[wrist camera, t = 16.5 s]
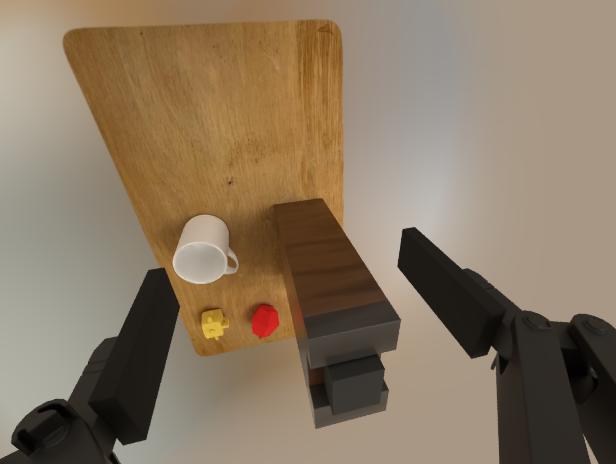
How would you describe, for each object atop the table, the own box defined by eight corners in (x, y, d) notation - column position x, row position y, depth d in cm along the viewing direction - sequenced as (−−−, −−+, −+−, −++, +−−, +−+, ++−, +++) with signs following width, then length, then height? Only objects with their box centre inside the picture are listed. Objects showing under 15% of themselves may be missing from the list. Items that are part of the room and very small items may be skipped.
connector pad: (321, 346, 33) (332, 381, 29) (369, 335, 34) (385, 369, 30) (323, 380, 37) (332, 416, 33) (365, 370, 38) (379, 403, 34)
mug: (225, 265, 60) (223, 299, 51) (174, 235, 54) (161, 268, 45) (251, 238, 58) (253, 269, 49) (201, 204, 52) (193, 232, 43)
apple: (261, 311, 62) (250, 344, 62) (287, 313, 66) (276, 345, 66) (251, 298, 67) (240, 329, 68) (275, 301, 71) (265, 330, 72)
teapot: (232, 324, 69) (232, 341, 65) (208, 329, 68) (206, 347, 64) (225, 301, 65) (224, 317, 61) (200, 305, 64) (197, 323, 60)
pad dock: (273, 204, 56) (308, 339, 28) (322, 198, 57) (401, 319, 29) (282, 274, 65) (315, 429, 37) (324, 267, 66) (385, 410, 38)
